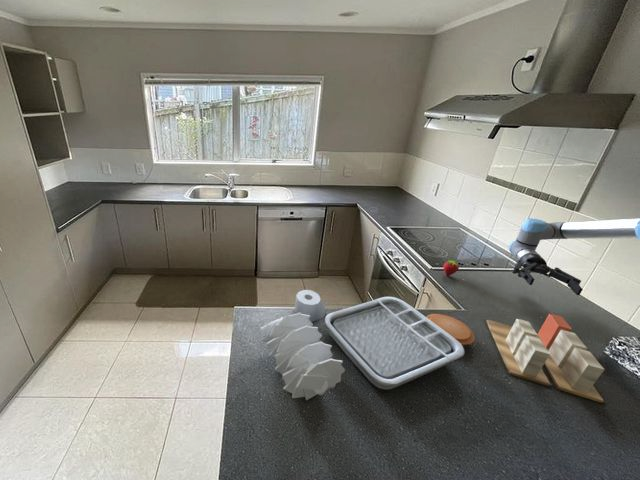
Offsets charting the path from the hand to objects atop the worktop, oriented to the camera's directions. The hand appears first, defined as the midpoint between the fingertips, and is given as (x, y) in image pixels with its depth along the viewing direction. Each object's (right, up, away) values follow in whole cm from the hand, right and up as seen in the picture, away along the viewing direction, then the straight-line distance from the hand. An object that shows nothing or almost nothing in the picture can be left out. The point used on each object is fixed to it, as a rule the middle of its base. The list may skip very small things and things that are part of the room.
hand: (555, 287), depth 104 cm
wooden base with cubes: (-19, -21, -4) cm, 29 cm away
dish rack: (-66, -21, -6) cm, 69 cm away
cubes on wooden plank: (-9, -24, -9) cm, 27 cm away
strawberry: (-13, -3, +39) cm, 42 cm away
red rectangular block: (-5, -20, -2) cm, 21 cm away
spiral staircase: (-98, -24, -16) cm, 102 cm away
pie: (-40, -19, +1) cm, 44 cm away
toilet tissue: (-90, -13, +9) cm, 91 cm away
